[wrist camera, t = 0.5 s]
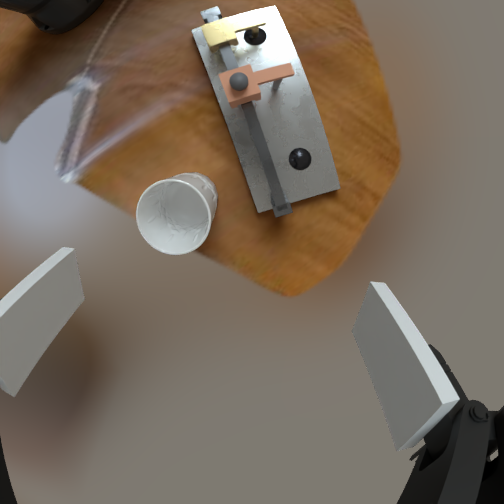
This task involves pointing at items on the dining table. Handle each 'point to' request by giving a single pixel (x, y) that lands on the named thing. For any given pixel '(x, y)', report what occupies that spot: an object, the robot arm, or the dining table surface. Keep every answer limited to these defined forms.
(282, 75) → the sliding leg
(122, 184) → the dining table surface
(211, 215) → the white cup
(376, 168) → the dining table surface
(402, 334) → the robot arm
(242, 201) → the dining table surface
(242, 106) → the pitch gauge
